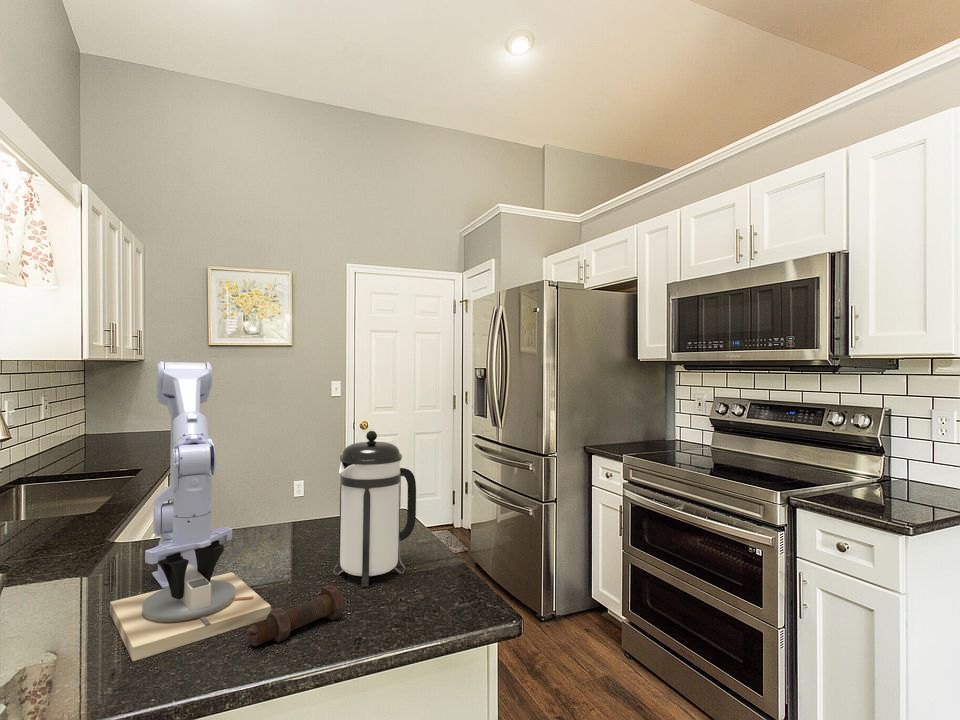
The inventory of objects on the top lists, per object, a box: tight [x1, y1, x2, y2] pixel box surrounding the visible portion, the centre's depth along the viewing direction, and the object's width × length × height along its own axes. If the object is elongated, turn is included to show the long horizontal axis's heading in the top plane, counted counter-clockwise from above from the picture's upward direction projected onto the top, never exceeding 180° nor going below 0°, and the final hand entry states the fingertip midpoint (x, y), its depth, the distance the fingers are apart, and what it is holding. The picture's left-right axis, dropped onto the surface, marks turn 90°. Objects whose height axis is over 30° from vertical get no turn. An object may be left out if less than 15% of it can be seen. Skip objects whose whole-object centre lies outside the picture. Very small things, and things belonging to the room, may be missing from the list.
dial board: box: [109, 571, 272, 662], centre depth 89 cm, size 20×20×2 cm
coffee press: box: [332, 430, 417, 588], centre depth 110 cm, size 17×16×30 cm
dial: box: [142, 564, 235, 622], centre depth 89 cm, size 14×14×5 cm
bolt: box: [246, 584, 344, 647], centre depth 85 cm, size 6×5×15 cm
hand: (190, 592), depth 89 cm, fingers closed on dial, 4 cm apart
